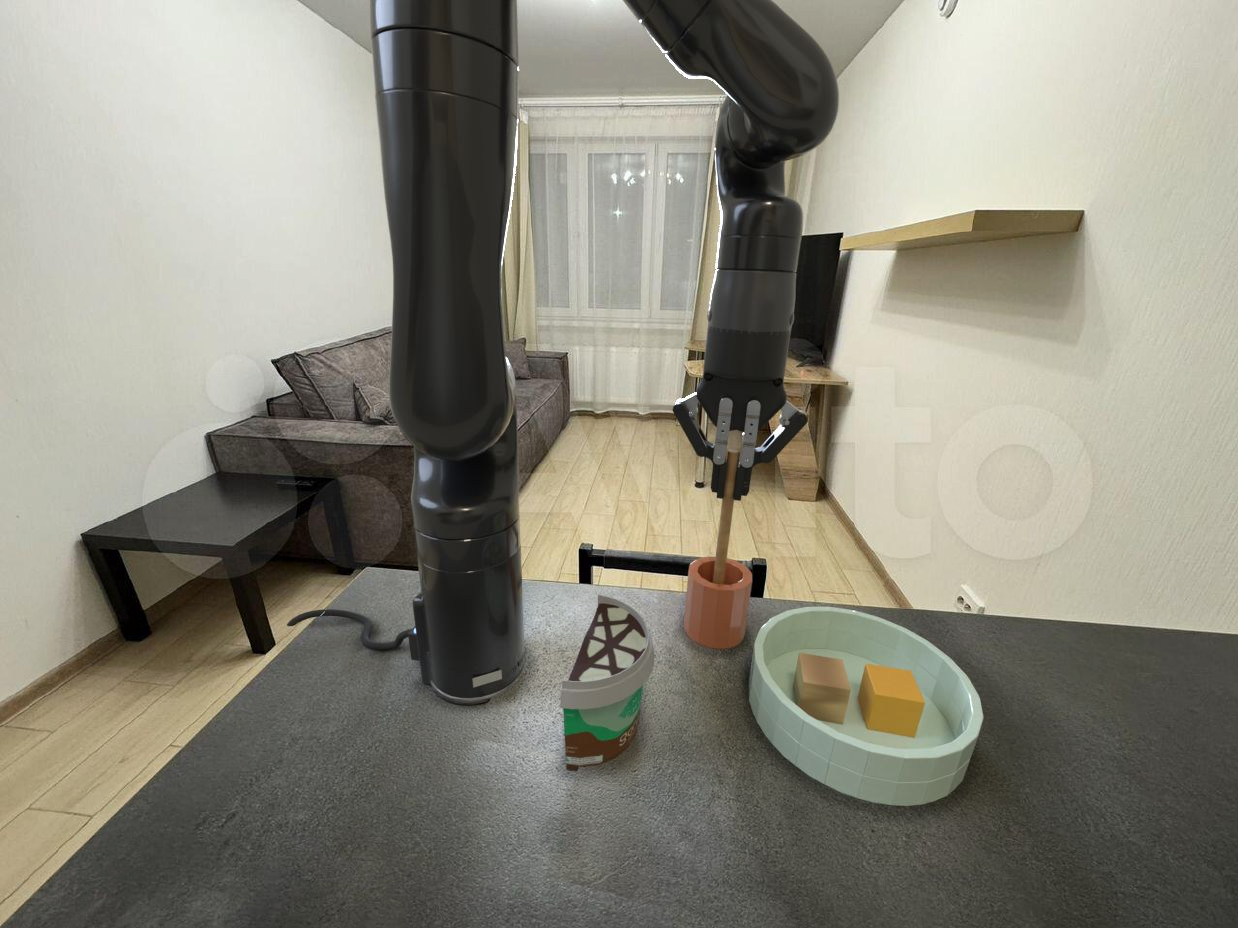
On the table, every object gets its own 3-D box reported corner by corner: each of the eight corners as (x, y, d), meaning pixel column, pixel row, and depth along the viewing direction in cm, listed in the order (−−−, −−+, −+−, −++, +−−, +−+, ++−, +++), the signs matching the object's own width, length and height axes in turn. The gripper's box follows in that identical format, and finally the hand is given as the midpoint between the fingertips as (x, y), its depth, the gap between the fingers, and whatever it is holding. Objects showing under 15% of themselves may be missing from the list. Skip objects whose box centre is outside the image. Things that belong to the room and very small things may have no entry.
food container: (637, 802, 40) (643, 700, 37) (560, 785, 41) (559, 685, 38) (658, 686, 52) (664, 600, 48) (597, 676, 53) (599, 591, 49)
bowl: (750, 782, 42) (758, 730, 40) (746, 636, 59) (752, 595, 57) (1006, 835, 39) (1029, 781, 37) (924, 664, 56) (936, 621, 54)
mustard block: (866, 729, 47) (875, 694, 45) (857, 696, 50) (865, 662, 49) (915, 738, 46) (925, 702, 45) (901, 704, 50) (911, 670, 48)
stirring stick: (710, 605, 58) (727, 452, 52) (710, 599, 59) (728, 448, 53) (720, 607, 58) (740, 453, 52) (721, 601, 59) (740, 449, 53)
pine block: (797, 716, 48) (803, 681, 46) (792, 685, 52) (798, 652, 50) (843, 724, 47) (851, 689, 46) (835, 692, 51) (842, 659, 49)
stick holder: (680, 647, 57) (686, 584, 54) (686, 610, 64) (691, 552, 61) (744, 658, 56) (753, 594, 53) (743, 619, 62) (751, 560, 60)
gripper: (820, 324, 50) (792, 491, 56) (679, 317, 53) (667, 476, 59) (833, 332, 43) (800, 520, 49) (671, 322, 46) (658, 503, 52)
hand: (728, 496), depth 54 cm, fingers closed on stirring stick, 1 cm apart
